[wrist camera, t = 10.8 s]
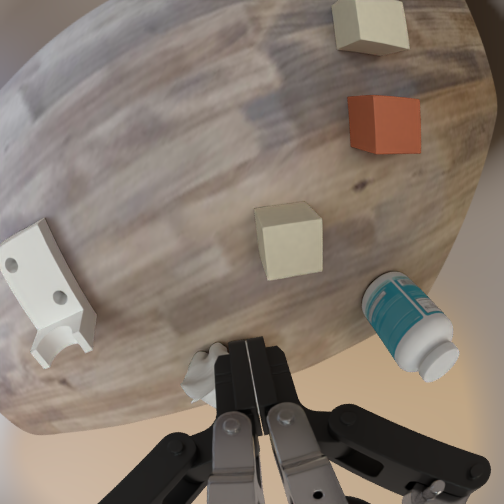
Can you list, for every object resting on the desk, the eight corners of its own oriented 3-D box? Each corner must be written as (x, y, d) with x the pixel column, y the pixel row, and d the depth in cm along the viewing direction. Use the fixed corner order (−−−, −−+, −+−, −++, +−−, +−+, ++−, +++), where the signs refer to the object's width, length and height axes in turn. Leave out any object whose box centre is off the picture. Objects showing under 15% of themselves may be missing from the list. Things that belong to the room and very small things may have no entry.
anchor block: (347, 96, 23) (373, 94, 19) (390, 98, 24) (419, 99, 19) (350, 146, 26) (376, 154, 21) (392, 145, 26) (421, 153, 22)
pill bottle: (362, 325, 36) (409, 401, 24) (355, 283, 33) (413, 364, 21) (408, 302, 36) (462, 368, 24) (406, 259, 33) (474, 325, 21)
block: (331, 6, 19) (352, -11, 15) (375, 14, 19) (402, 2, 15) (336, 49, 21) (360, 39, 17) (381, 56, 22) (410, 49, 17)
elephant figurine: (285, 353, 37) (302, 407, 29) (213, 390, 38) (216, 442, 31) (245, 309, 32) (256, 368, 25) (166, 354, 34) (160, 411, 26)
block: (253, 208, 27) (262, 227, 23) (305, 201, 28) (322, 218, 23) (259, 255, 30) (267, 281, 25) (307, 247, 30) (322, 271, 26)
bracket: (97, 310, 31) (92, 350, 25) (54, 329, 30) (44, 369, 23) (47, 215, 25) (24, 236, 19) (2, 241, 24) (-25, 268, 17)
